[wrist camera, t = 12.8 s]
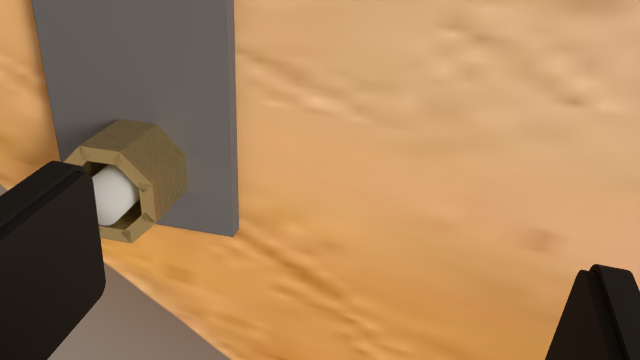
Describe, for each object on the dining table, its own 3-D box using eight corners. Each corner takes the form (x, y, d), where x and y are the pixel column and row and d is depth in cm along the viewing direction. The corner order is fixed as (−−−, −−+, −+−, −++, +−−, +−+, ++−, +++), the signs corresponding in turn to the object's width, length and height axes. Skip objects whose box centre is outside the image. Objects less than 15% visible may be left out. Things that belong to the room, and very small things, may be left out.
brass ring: (94, 115, 42) (50, 141, 38) (183, 127, 41) (149, 156, 36) (106, 198, 45) (67, 232, 41) (189, 212, 44) (158, 248, 40)
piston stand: (33, -59, 38) (-52, -48, 32) (232, -43, 36) (182, -28, 30) (78, 202, 48) (19, 249, 41) (238, 229, 45) (201, 284, 39)
